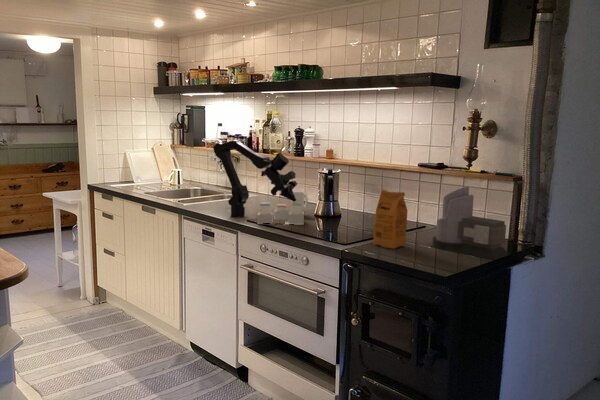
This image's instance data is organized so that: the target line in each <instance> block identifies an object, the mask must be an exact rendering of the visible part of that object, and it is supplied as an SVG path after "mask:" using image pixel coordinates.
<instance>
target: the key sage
mask: <svg viewBox="0 0 600 400" xmlns="http://www.w3.org/2000/svg"><path fill="white" fill-rule="evenodd" d="M301 203H302V202H292V214H301Z"/></svg>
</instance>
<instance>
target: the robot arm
mask: <svg viewBox="0 0 600 400" xmlns="http://www.w3.org/2000/svg"><path fill="white" fill-rule="evenodd" d="M212 150H213V153H214V154H215V155H216V156H215V157H217V158H218V159H219V160H220V161H221V164H222V165H223V169H224V171H225V173H226V175H227V179H228V181H229V183H230V185H231V192H230V193H231V198H229V199H228V200H227V202H228V205H229V206H230V215H229V216H230V218H243V217H244V216H246V206H245V205H246V203H247V201H248V199H249V196H250V194H249V193H250V191H249V190H248V187H247V185H243V184H242V183H241V181H240V177H239V176H238V173H237V171H236V168H235V166H234V163H233V161H232V158H231V156H232V152H231V151H234V150H235V151H237V152H238V153H239V154H240V155H242V156H244V157H245V158H247V159H249V160H250V161H251V163H252V165H254V166H255V167H256V168H257V169H259V170H260V169H261V174H260V176H261V177H262V178H263V177H267V178H268V180H269V181H270V185H274V186H273V188H272V189H270V194H271V195H272V196H273V197H274V196H277V193H278V192H280V193H279V196H280V197H283V198H286V199H288V200H290V201H291V200H292V201H296V198H295V196H294V193H293V192H294V191H293V189H294V188H295V187H297V185H298V181H296V180H293V179H296V173H295V171H293V170H290V171H289V172H287V173H285V174H282V173H280V172H279V171H282V170H283V169H284V168H285V167H287V165H288V164H289V163H290V161H289V159H288V158H287V157H286V156H284V155H283V154H281V153H280V152H279V153H277V154H276V155H275V157H274V158H273V159H270V158H269V156H266V155H264V154H260V153H257V152H256V151H254V150H252V149H251V148H249V147H248V146H246V145H245V144H244V143H242V142H241V141H239V140H238V139H232V140H230V141H226V142H217V143H215V144H214V146H213V149H212ZM262 169H264V170H262ZM290 180H291V181H290Z"/></svg>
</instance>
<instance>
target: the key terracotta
mask: <svg viewBox="0 0 600 400" xmlns="http://www.w3.org/2000/svg"><path fill="white" fill-rule="evenodd" d="M287 206H288V204H285V203H277V205H276V209H277V211H287V209H288V208H287Z"/></svg>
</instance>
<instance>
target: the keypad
mask: <svg viewBox="0 0 600 400" xmlns="http://www.w3.org/2000/svg"><path fill="white" fill-rule="evenodd" d="M273 217H274V219H276V220H287V221H285V224H284V225H289V224H294V225H293V226H296V225H298V226H299V225H301V226H304V223H305V221H304V220H305V211H304V212H301V214H292V212H291V211H290V209H288V208H287V211H277V208H275V209H274V212H271V211H270V215H266V214H260V211H258V212H257V217H256V218H257V220H256V221H257V225H264V224H263V223H271V224H270V225H273V224H272V222H273Z"/></svg>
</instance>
